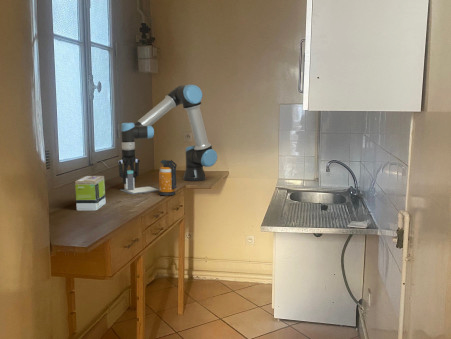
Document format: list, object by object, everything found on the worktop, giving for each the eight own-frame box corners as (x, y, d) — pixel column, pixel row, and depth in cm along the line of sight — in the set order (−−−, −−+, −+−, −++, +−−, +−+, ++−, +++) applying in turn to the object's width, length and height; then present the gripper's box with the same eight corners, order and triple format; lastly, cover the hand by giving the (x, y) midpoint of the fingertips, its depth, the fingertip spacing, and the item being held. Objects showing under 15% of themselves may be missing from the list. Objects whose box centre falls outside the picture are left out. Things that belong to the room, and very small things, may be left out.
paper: (149, 186, 274) (149, 185, 274) (162, 190, 261) (162, 189, 261) (119, 190, 262) (119, 189, 262) (131, 194, 249) (131, 193, 249)
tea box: (86, 203, 224) (85, 175, 222) (106, 204, 224) (105, 175, 222) (75, 210, 210) (74, 180, 208) (96, 210, 209) (95, 180, 207)
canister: (166, 192, 255) (166, 158, 252) (181, 194, 248) (180, 159, 245) (155, 195, 247) (155, 159, 245) (170, 197, 241) (169, 161, 238)
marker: (131, 188, 263) (130, 170, 261) (133, 189, 260) (133, 170, 258) (125, 189, 260) (124, 170, 259) (127, 189, 257) (127, 171, 256)
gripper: (117, 150, 249) (118, 191, 252) (144, 149, 259) (145, 188, 262) (112, 149, 255) (113, 189, 258) (138, 148, 265) (139, 186, 268)
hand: (129, 188), depth 260 cm, fingers closed on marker, 4 cm apart
